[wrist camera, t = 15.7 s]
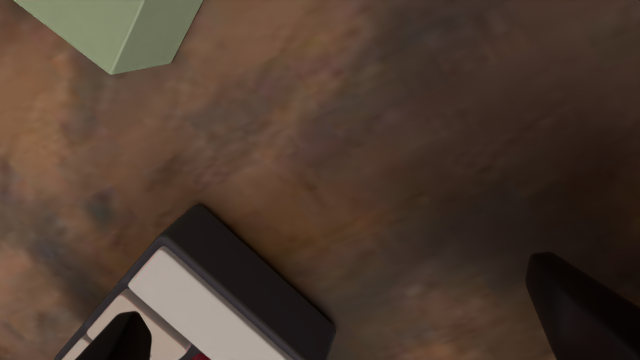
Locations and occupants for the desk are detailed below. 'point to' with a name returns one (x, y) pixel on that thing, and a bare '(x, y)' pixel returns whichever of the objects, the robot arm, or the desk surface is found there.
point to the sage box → (119, 29)
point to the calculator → (210, 301)
